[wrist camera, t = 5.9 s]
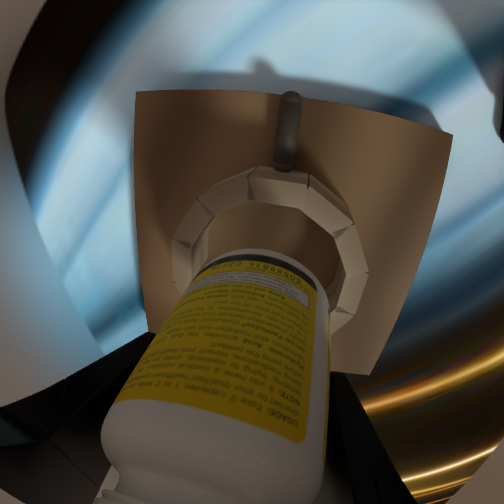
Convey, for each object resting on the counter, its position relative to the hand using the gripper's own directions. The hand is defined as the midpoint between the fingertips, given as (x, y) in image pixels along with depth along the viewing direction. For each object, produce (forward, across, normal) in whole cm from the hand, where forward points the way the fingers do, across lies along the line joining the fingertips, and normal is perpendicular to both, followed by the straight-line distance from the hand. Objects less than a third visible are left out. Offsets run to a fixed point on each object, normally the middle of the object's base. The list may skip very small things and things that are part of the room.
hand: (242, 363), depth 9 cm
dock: (+9, 0, 0) cm, 9 cm away
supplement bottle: (+3, 0, 0) cm, 3 cm away
